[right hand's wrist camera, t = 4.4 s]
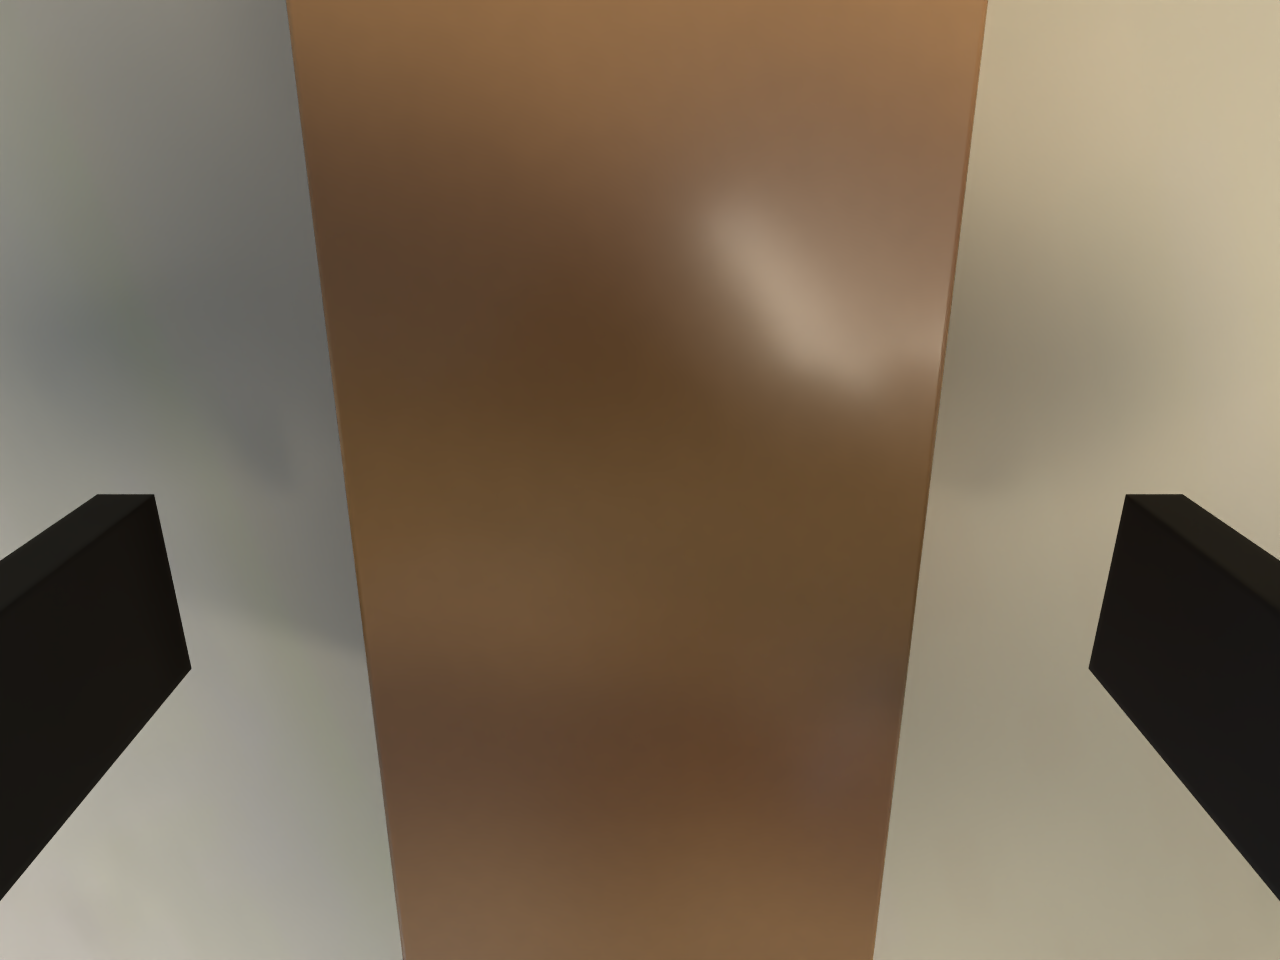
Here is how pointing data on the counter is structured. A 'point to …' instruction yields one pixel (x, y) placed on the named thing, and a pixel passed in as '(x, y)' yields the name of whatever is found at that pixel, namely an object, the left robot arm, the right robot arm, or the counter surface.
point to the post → (637, 448)
